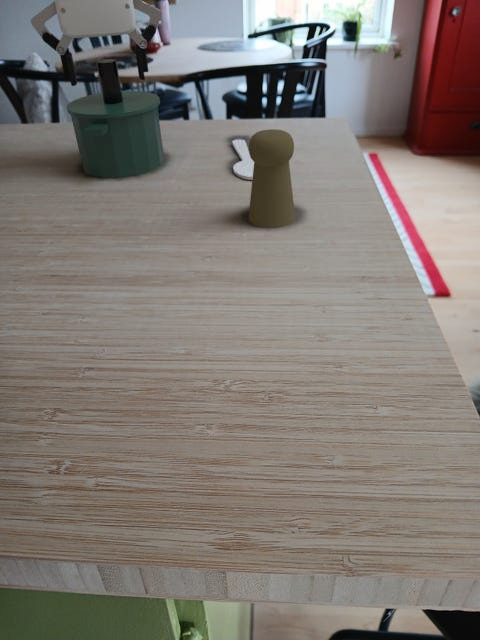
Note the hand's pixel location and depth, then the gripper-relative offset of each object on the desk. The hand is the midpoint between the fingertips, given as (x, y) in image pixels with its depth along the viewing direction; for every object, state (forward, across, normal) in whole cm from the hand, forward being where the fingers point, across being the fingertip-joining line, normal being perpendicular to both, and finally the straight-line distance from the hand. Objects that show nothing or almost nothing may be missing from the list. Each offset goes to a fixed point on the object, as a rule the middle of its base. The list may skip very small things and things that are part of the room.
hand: (108, 81), depth 74 cm
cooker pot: (+13, 0, 0) cm, 13 cm away
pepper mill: (+13, -18, +26) cm, 34 cm away
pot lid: (+4, 0, 0) cm, 4 cm away
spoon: (+13, -19, +3) cm, 23 cm away
